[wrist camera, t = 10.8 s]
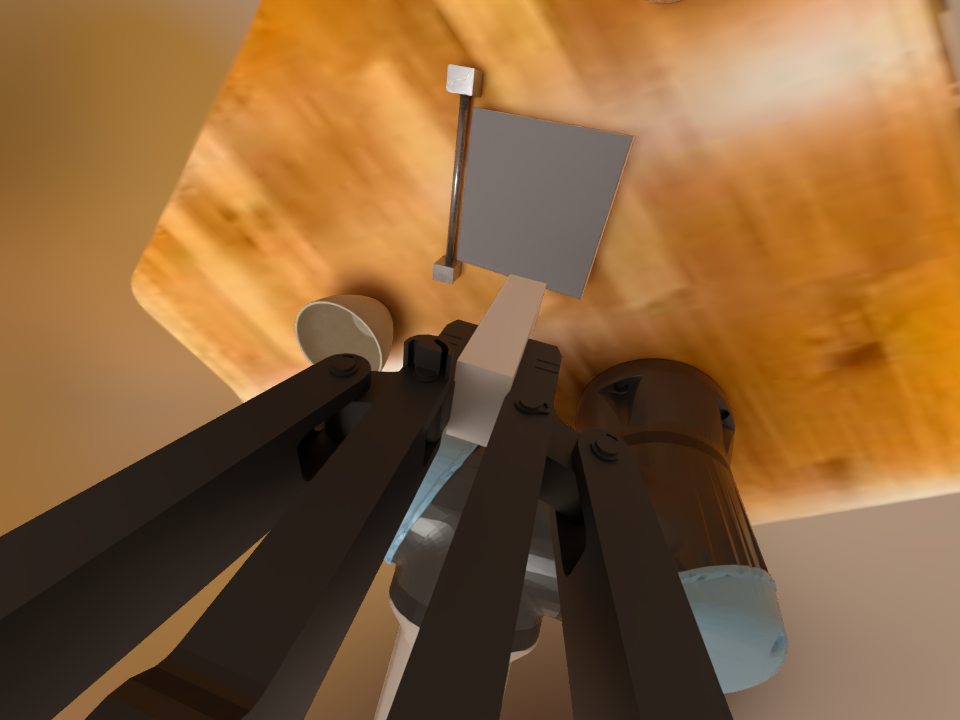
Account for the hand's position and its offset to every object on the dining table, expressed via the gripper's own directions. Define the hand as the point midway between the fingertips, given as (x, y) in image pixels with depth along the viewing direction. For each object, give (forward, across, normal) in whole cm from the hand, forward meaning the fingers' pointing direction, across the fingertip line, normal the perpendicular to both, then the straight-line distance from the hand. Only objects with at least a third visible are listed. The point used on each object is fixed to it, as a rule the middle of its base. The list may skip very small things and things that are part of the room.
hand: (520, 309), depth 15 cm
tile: (+18, +3, 0) cm, 18 cm away
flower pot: (+21, +18, +16) cm, 32 cm away
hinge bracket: (+21, +10, 0) cm, 23 cm away
